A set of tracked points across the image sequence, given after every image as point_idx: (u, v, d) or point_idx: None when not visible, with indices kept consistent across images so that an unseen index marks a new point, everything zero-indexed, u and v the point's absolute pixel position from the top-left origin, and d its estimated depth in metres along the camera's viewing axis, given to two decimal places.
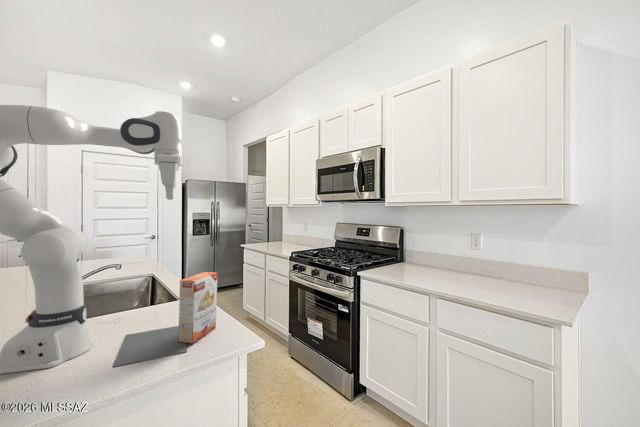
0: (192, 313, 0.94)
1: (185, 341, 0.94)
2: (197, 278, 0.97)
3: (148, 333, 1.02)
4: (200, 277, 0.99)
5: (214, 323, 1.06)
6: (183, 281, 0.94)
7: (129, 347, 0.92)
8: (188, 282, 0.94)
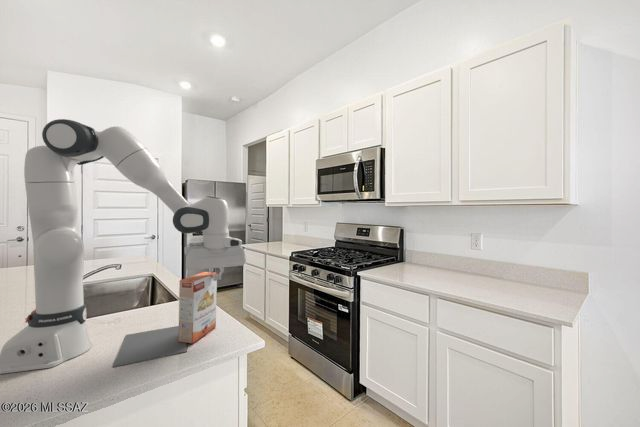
0: (192, 313, 0.94)
1: (185, 341, 0.94)
2: (197, 278, 0.97)
3: (148, 333, 1.02)
4: (200, 277, 0.99)
5: (214, 323, 1.06)
6: (183, 281, 0.94)
7: (129, 347, 0.92)
8: (188, 282, 0.94)
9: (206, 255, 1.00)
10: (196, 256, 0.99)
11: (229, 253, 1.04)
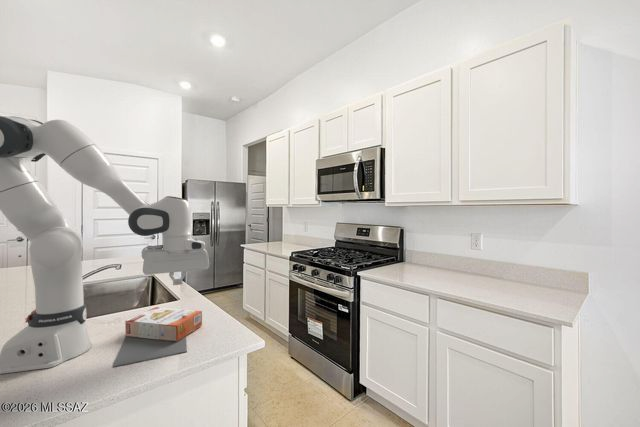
0: (150, 324, 0.97)
1: (175, 333, 0.95)
2: None
3: None
4: None
5: (195, 311, 1.08)
6: (126, 332, 0.99)
7: (129, 347, 0.92)
8: (126, 327, 0.99)
9: (165, 258, 0.95)
10: (154, 260, 0.93)
11: (191, 256, 0.98)
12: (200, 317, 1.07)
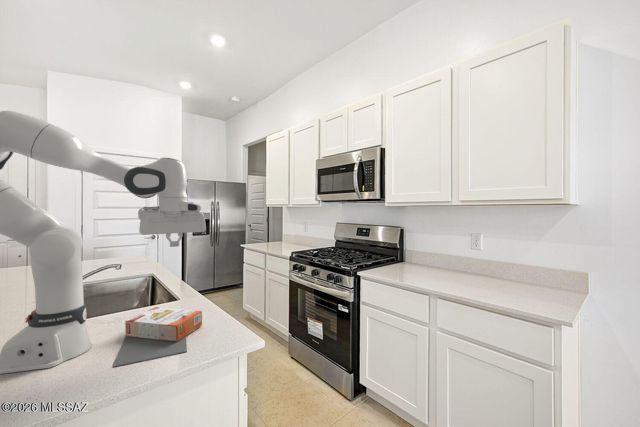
0: (150, 324, 0.97)
1: (175, 333, 0.95)
2: None
3: None
4: None
5: (195, 311, 1.08)
6: (126, 332, 0.99)
7: (129, 347, 0.92)
8: (126, 327, 0.99)
9: (162, 219, 0.95)
10: (151, 221, 0.94)
11: (187, 218, 0.99)
12: (200, 317, 1.07)
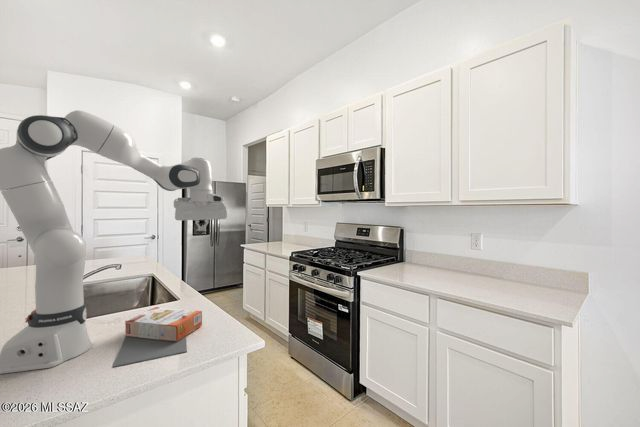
0: (150, 324, 0.97)
1: (175, 333, 0.95)
2: None
3: None
4: None
5: (195, 311, 1.08)
6: (126, 332, 0.99)
7: (129, 347, 0.92)
8: (126, 327, 0.99)
9: (192, 208, 1.17)
10: (184, 209, 1.16)
11: (213, 208, 1.20)
12: (200, 317, 1.07)
